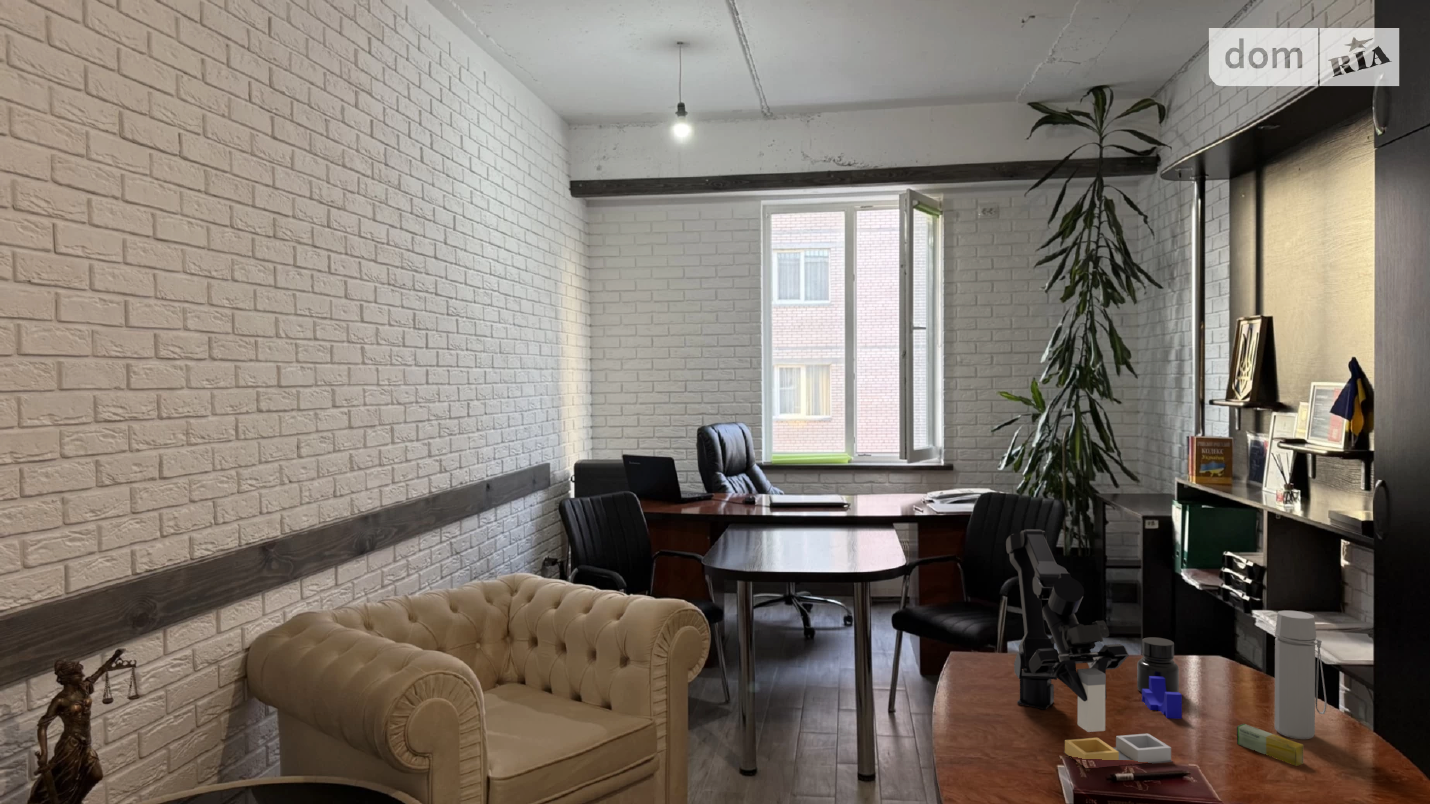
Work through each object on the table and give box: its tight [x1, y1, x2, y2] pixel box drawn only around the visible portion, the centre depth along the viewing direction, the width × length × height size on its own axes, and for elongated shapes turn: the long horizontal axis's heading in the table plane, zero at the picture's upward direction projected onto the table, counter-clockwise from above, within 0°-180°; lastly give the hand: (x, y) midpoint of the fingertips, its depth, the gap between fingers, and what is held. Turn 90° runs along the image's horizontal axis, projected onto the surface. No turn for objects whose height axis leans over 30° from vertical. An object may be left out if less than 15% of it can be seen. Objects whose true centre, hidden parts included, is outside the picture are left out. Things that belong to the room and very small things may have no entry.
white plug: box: [1076, 667, 1107, 733], centre depth 175 cm, size 4×4×11 cm
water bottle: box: [1274, 610, 1327, 740], centre depth 187 cm, size 9×8×25 cm
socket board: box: [1063, 733, 1174, 764], centre depth 176 cm, size 18×8×3 cm, turn 99°
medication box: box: [1236, 723, 1304, 767], centre depth 178 cm, size 12×3×4 cm, turn 27°
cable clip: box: [1141, 676, 1183, 720], centre depth 201 cm, size 12×4×6 cm, turn 171°
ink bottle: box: [1136, 636, 1180, 693], centre depth 213 cm, size 10×9×12 cm
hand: (1095, 699), depth 174 cm, fingers closed on white plug, 4 cm apart
